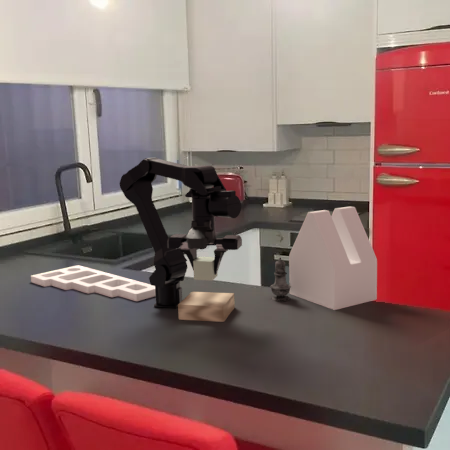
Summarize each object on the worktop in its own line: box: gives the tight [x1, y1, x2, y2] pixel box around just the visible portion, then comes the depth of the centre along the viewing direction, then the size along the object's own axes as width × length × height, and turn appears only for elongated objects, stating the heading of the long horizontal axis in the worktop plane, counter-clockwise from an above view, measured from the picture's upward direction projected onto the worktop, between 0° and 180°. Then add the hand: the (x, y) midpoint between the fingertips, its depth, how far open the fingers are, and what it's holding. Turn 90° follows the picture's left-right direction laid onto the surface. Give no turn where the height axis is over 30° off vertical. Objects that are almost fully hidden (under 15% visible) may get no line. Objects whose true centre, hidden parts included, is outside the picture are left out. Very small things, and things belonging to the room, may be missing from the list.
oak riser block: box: [177, 291, 236, 323], centre depth 165 cm, size 12×12×4 cm
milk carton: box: [288, 206, 378, 311], centre depth 175 cm, size 19×15×25 cm
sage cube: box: [192, 256, 218, 282], centre depth 163 cm, size 5×5×5 cm
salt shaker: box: [269, 257, 291, 302], centre depth 175 cm, size 6×6×12 cm
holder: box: [30, 264, 156, 302], centre depth 194 cm, size 45×18×3 cm, turn 45°
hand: (205, 274), depth 164 cm, fingers closed on sage cube, 5 cm apart
